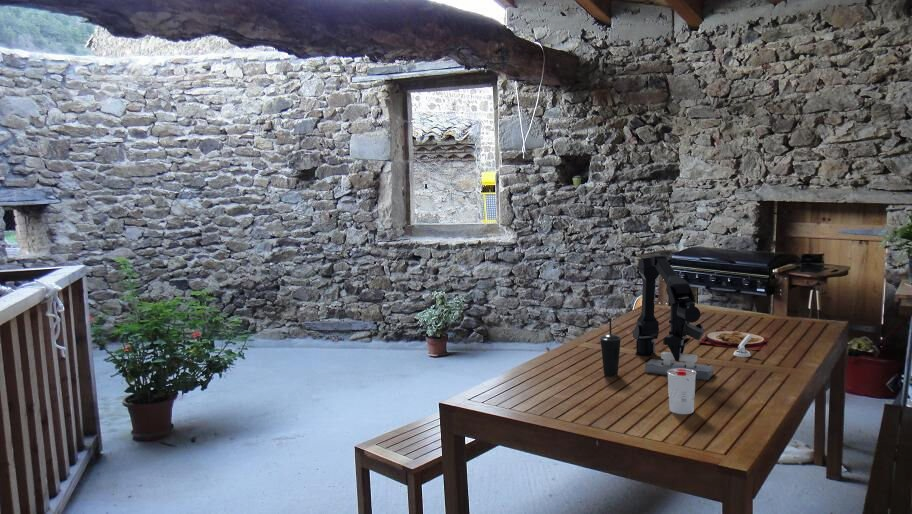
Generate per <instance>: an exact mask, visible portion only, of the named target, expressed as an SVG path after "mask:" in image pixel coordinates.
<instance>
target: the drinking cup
mask: <svg viewBox="0 0 912 514" xmlns="http://www.w3.org/2000/svg"><path fill="white" fill-rule="evenodd" d="M608 325H609V333H606V334H604V335H602V336H599V340H600V347H601V349H600V350H601V357H602V367H603V374H604V376H607V377H616V376H618V374H619V364H620V351H621V350H620V349H621V342H622V337H621V336H619V335H618V334H614V333H612V320H611V319H609V324H608Z"/></svg>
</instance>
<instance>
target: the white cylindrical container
mask: <svg viewBox="0 0 912 514" xmlns="http://www.w3.org/2000/svg"><path fill="white" fill-rule="evenodd" d="M667 373H668V375H667V391H668V404H669V405H668V406H669V408H668V409H669V411H670V413H673V414H677V415H691V414H692V413H694V411H695V396H696V395H695V393H696V379H695V377H696V372H695V371H693V370H690V369H684V368H674V369H669V370H667Z"/></svg>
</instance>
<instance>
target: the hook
mask: <svg viewBox="0 0 912 514" xmlns="http://www.w3.org/2000/svg"><path fill="white" fill-rule="evenodd" d="M750 338H751V336H750V335H749V334H748V335H747V336H746V337H745V338H744V340H743V341H742V342H741V343H740V344H739V346H738V348H737V349H736V350H734V352H733V355H734V356H735V357H740V358H748V357H751V352H750V351H748V350H745V349H746V348H745V347H744V346H745V344H746V343H747V342H748V341H749V340H750Z"/></svg>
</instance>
